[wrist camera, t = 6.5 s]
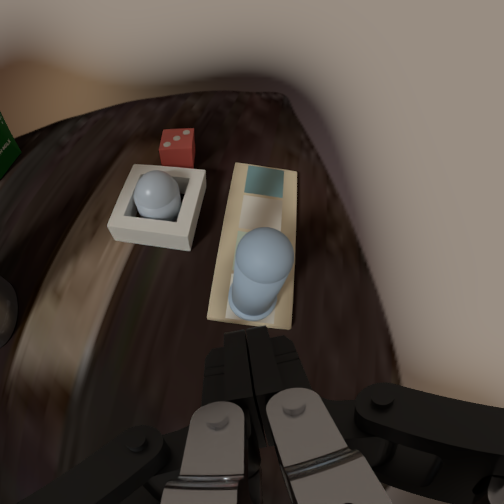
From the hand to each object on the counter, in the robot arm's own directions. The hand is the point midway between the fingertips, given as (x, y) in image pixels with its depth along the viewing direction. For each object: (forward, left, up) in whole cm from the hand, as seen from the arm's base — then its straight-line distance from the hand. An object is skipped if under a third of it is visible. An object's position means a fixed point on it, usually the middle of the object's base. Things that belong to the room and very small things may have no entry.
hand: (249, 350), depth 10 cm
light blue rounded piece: (-11, +17, -16) cm, 26 cm away
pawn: (+1, +8, -16) cm, 18 cm away
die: (-11, +25, -17) cm, 32 cm away
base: (-11, +17, -17) cm, 26 cm away
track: (+1, +15, -17) cm, 23 cm away
